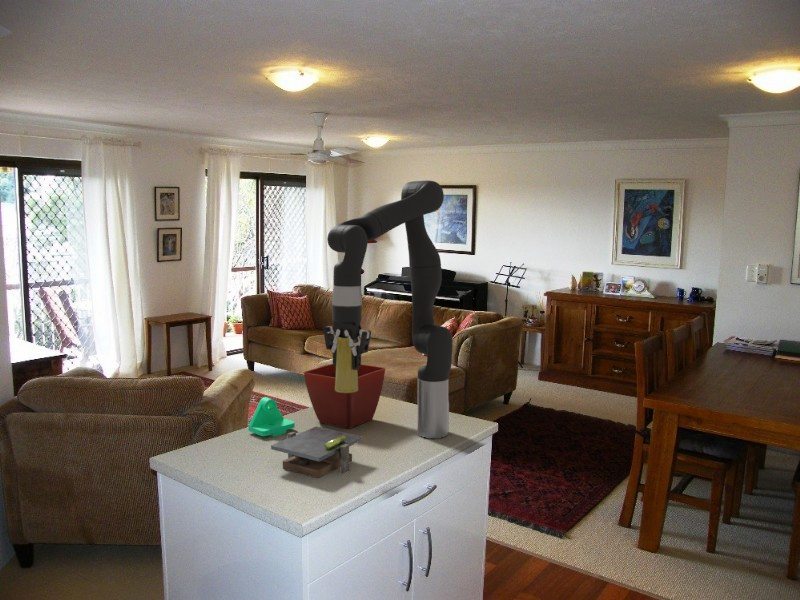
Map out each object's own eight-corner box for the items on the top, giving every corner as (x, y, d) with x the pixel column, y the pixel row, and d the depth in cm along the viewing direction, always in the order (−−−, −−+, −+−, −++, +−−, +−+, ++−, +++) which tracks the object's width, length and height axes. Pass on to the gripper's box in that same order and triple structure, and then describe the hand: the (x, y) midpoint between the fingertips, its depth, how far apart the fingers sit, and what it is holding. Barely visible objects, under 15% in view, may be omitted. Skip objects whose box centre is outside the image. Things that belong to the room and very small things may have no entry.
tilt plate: (316, 429, 185) (316, 420, 185) (362, 440, 177) (362, 430, 176) (271, 449, 170) (270, 439, 170) (319, 461, 162) (318, 451, 162)
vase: (334, 387, 175) (335, 334, 173) (358, 387, 175) (358, 334, 174) (334, 393, 169) (335, 338, 167) (358, 393, 169) (359, 338, 168)
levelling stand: (307, 450, 185) (307, 425, 184) (363, 463, 175) (362, 438, 174) (272, 465, 174) (271, 439, 173) (329, 481, 163) (329, 454, 162)
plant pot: (302, 423, 209) (301, 371, 207) (341, 409, 225) (341, 360, 223) (349, 434, 199) (349, 379, 197) (387, 418, 214) (386, 368, 212)
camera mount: (263, 440, 194) (262, 406, 193) (248, 434, 199) (247, 401, 198) (296, 430, 203) (295, 398, 201) (281, 425, 208) (280, 393, 207)
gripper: (378, 304, 169) (377, 368, 171) (333, 299, 176) (333, 362, 178) (361, 306, 163) (360, 374, 165) (315, 302, 170) (315, 366, 172)
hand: (346, 367), depth 171 cm, fingers closed on vase, 5 cm apart
